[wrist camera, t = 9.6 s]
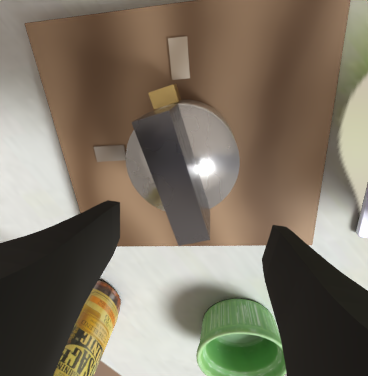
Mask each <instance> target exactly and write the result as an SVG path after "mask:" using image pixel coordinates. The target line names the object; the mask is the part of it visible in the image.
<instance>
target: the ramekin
mask: <svg viewBox="0 0 368 376" xmlns="http://www.w3.org/2000/svg"><path fill="white" fill-rule="evenodd" d="M197 363H198V365H199V367H200V369H201V370H202V372H203V373H204V374H205V375H207V376H284V375H285V374H286V367H285V360H284V355H283V349H282V343H281V338H280V334H279V331H278V328H277V325H276V322H275V320H274V318H273V316H272V314H271V313H270V312H269V311H268V310H267V309H266V308H265V307H264V306H262V305H260V304H259V303H256V302H254V301H251V300H246V299H229V300H224V301H221V302H219V303H216V304H215V305H213V306H212V307H210V308H209V309H208V311H207V312H206V313H205V315H204V318H203V322H202V330H201V338H200V344H199V346H198V350H197Z"/></svg>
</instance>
